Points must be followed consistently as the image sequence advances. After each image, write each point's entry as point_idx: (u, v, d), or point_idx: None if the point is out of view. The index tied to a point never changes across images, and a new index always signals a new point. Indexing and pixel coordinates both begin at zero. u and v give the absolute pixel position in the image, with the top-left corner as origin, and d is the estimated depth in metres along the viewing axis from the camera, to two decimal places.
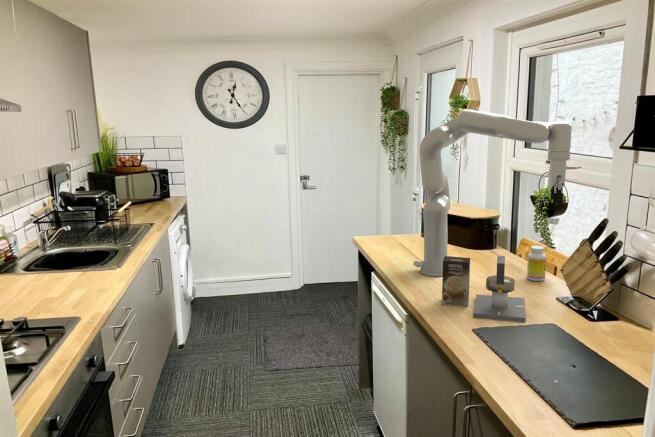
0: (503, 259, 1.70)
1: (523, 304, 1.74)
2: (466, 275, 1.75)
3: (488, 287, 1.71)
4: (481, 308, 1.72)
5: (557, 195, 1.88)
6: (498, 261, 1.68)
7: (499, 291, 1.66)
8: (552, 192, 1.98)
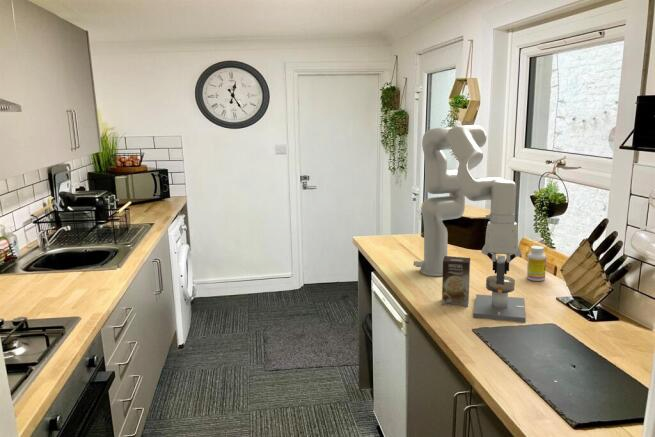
0: (503, 259, 1.70)
1: (523, 304, 1.74)
2: (466, 275, 1.75)
3: (488, 287, 1.71)
4: (481, 308, 1.72)
5: None
6: (498, 261, 1.68)
7: (499, 291, 1.66)
8: None
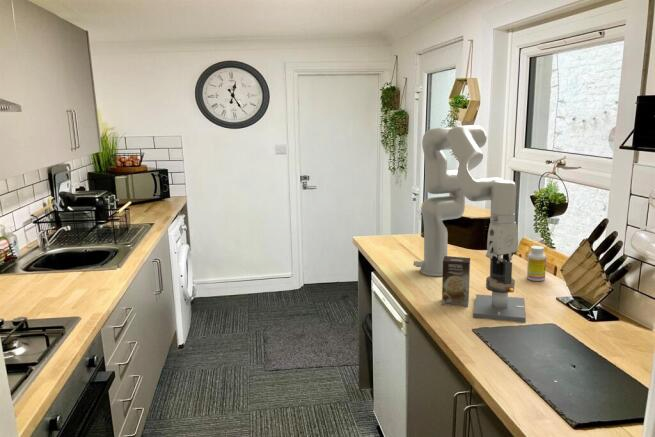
0: (502, 259, 1.71)
1: (523, 304, 1.74)
2: (466, 275, 1.75)
3: (494, 289, 1.69)
4: (481, 308, 1.72)
5: None
6: (503, 261, 1.68)
7: (511, 291, 1.65)
8: None
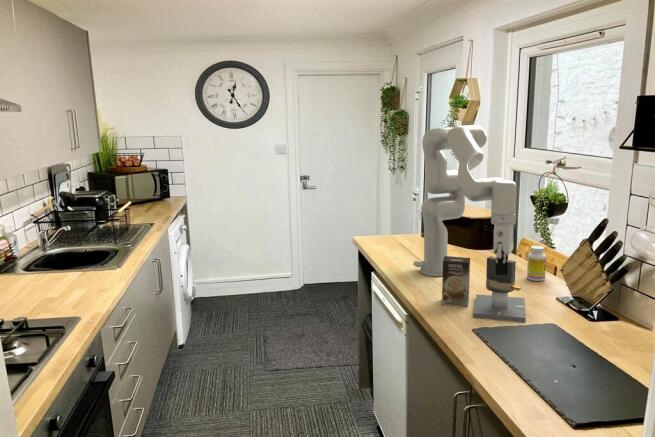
0: None
1: (523, 304, 1.74)
2: (466, 275, 1.75)
3: (501, 290, 1.68)
4: (481, 308, 1.72)
5: None
6: (507, 261, 1.68)
7: (519, 289, 1.67)
8: None
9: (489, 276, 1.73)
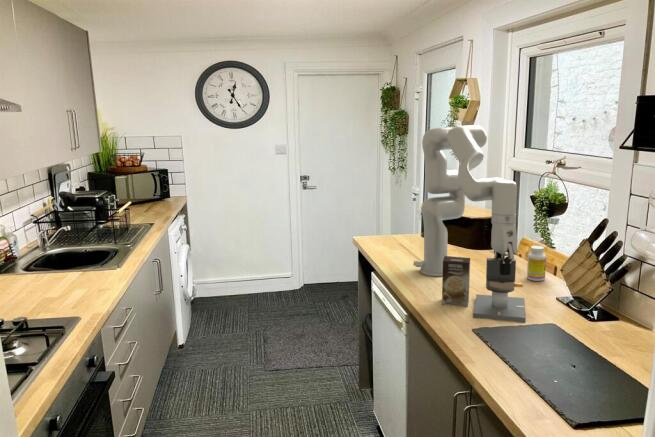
0: (500, 258, 1.71)
1: (523, 304, 1.74)
2: (466, 275, 1.75)
3: (509, 289, 1.68)
4: (481, 308, 1.72)
5: None
6: None
7: (522, 285, 1.70)
8: None
9: (490, 278, 1.71)
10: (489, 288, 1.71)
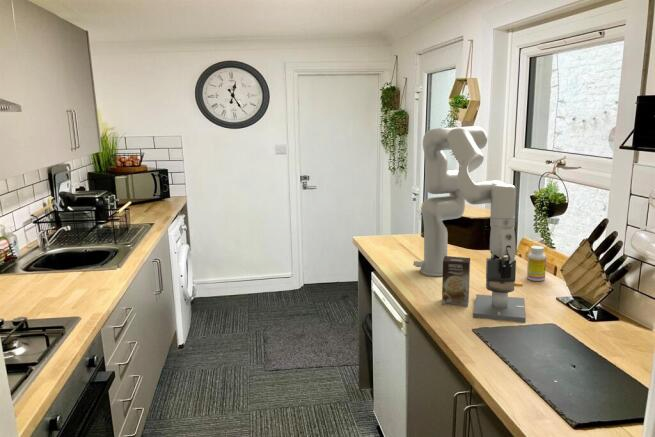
0: (500, 258, 1.71)
1: (523, 304, 1.74)
2: (466, 275, 1.75)
3: (510, 289, 1.68)
4: (481, 308, 1.72)
5: None
6: None
7: None
8: None
9: (490, 278, 1.71)
10: (490, 288, 1.70)
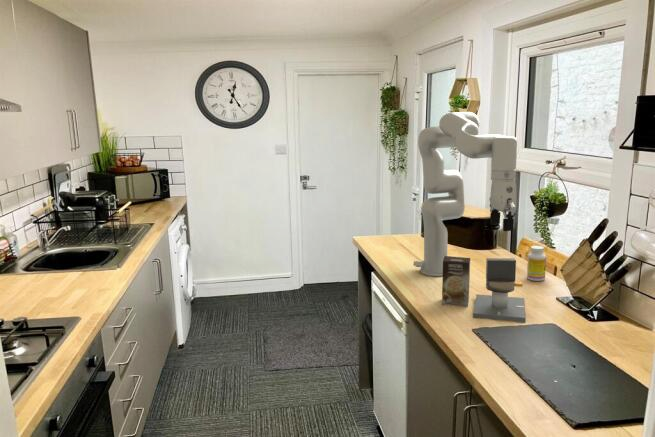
0: (500, 258, 1.71)
1: (523, 304, 1.74)
2: (466, 275, 1.75)
3: (510, 289, 1.68)
4: (481, 308, 1.72)
5: None
6: (509, 260, 1.69)
7: None
8: None
9: (490, 278, 1.71)
10: (490, 288, 1.70)
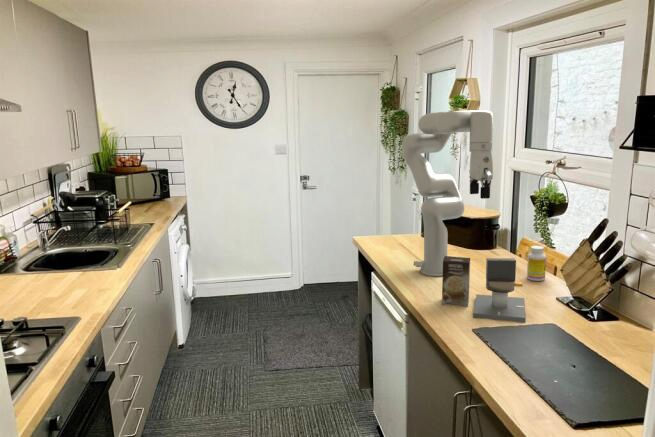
0: (500, 258, 1.71)
1: (523, 304, 1.74)
2: (466, 275, 1.75)
3: (510, 289, 1.68)
4: (481, 308, 1.72)
5: None
6: (509, 260, 1.69)
7: None
8: None
9: (490, 278, 1.71)
10: (490, 288, 1.70)
